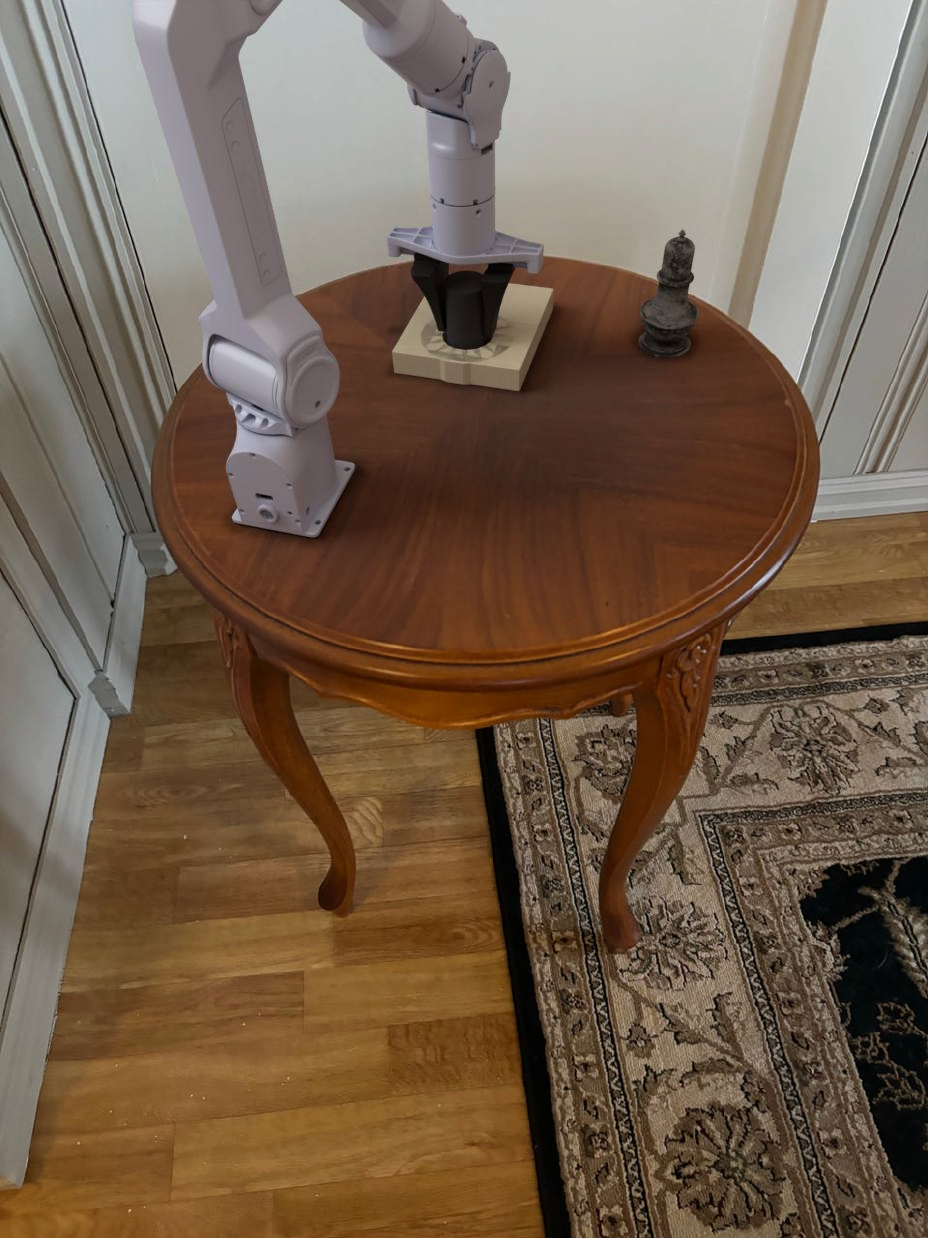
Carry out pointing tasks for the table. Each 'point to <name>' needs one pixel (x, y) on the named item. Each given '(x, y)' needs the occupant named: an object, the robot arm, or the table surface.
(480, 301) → the dark grey cylinder
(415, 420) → the table surface
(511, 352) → the back plate
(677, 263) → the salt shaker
